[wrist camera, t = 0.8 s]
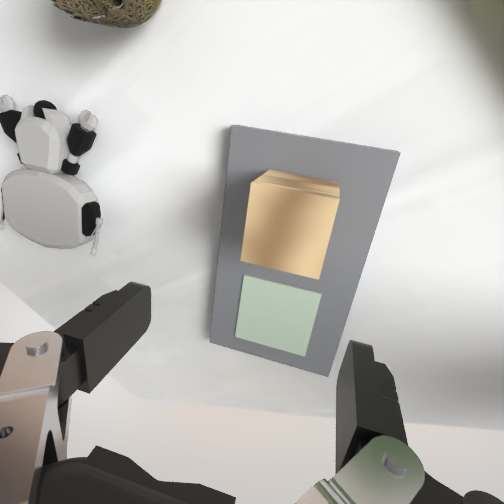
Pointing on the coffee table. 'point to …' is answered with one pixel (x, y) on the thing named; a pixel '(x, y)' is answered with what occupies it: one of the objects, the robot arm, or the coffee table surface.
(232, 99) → the coffee table surface
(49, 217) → the robot toy
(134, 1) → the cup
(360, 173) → the post board
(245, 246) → the cardboard box
